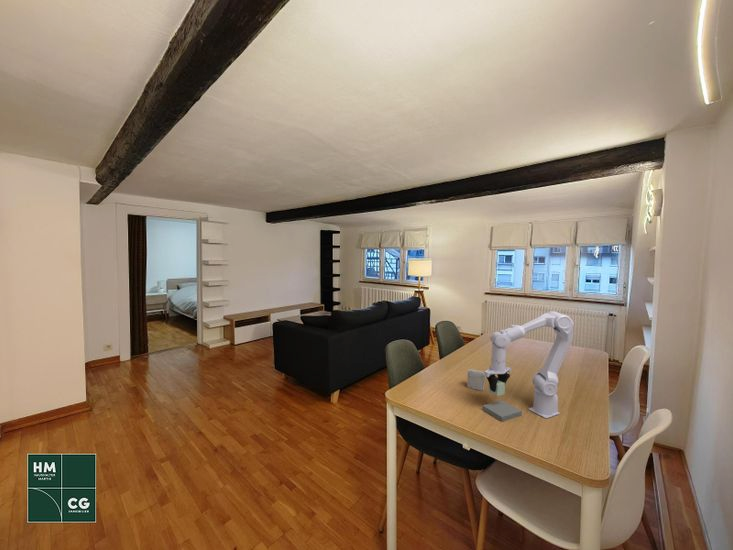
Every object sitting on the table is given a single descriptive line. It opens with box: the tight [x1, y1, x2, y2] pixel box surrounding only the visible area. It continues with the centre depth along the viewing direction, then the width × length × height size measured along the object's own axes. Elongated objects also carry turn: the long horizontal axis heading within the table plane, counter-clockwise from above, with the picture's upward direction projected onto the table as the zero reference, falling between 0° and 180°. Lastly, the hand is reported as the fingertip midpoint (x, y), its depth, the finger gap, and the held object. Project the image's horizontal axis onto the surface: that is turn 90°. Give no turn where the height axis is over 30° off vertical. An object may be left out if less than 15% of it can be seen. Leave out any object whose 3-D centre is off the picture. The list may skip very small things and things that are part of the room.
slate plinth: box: [481, 400, 523, 422], centre depth 123 cm, size 12×10×2 cm
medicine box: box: [466, 368, 486, 392], centre depth 146 cm, size 8×4×9 cm, turn 59°
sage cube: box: [488, 380, 506, 397], centre depth 126 cm, size 4×4×5 cm
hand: (496, 389), depth 126 cm, fingers closed on sage cube, 4 cm apart
